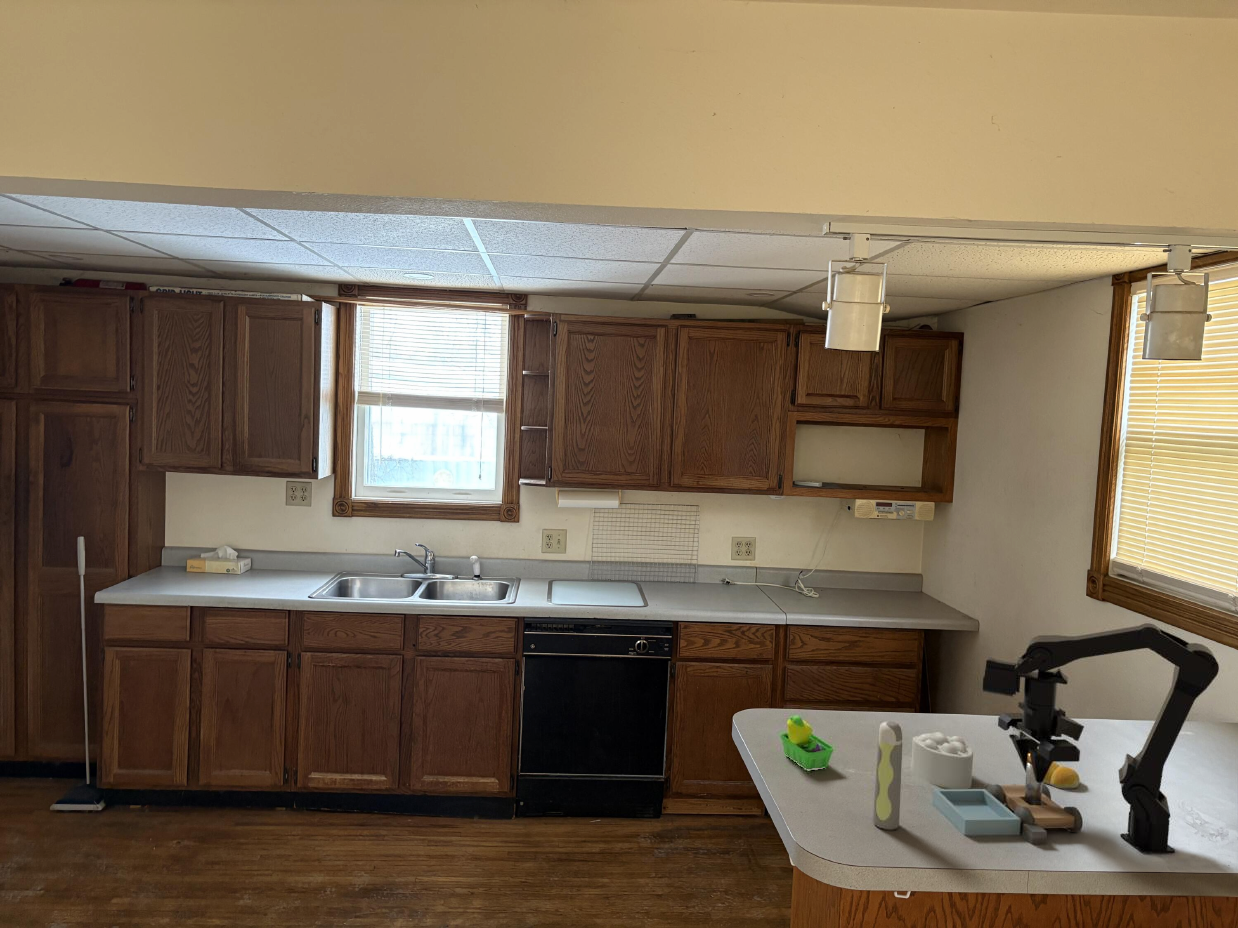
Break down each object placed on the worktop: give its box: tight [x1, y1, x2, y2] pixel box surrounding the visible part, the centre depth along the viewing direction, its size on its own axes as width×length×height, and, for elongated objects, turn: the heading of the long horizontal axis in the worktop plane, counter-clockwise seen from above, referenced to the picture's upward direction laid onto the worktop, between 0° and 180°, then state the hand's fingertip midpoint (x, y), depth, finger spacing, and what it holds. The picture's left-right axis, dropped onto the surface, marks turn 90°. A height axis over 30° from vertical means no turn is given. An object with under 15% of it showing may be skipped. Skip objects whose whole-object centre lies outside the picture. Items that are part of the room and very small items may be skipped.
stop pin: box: [1024, 751, 1044, 805], centre depth 168 cm, size 3×3×10 cm
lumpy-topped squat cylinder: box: [910, 731, 974, 789], centre depth 186 cm, size 10×13×9 cm
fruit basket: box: [779, 715, 835, 769], centre depth 191 cm, size 11×9×11 cm
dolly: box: [986, 783, 1084, 845], centre depth 166 cm, size 17×12×4 cm
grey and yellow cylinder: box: [872, 720, 903, 831], centre depth 162 cm, size 5×5×20 cm
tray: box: [932, 788, 1021, 836], centre depth 167 cm, size 13×11×3 cm
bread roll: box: [1042, 762, 1080, 790], centre depth 186 cm, size 8×9×4 cm
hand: (1034, 778), depth 168 cm, fingers closed on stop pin, 3 cm apart
